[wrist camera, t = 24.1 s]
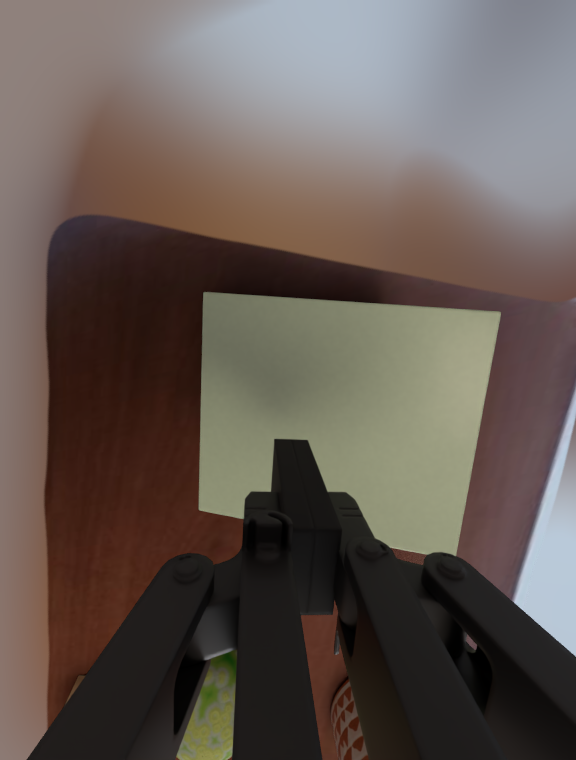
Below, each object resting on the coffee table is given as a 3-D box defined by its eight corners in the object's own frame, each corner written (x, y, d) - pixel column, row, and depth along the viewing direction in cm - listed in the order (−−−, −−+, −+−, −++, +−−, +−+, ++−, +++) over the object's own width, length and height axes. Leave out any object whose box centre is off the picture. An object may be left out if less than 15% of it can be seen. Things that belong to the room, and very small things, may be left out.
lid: (495, 311, 20) (502, 311, 19) (451, 550, 23) (455, 560, 22) (209, 292, 23) (202, 291, 22) (204, 503, 26) (198, 510, 25)
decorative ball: (185, 614, 42) (164, 708, 32) (266, 630, 44) (270, 724, 34) (164, 681, 44) (138, 790, 34) (243, 694, 45) (240, 801, 36)
